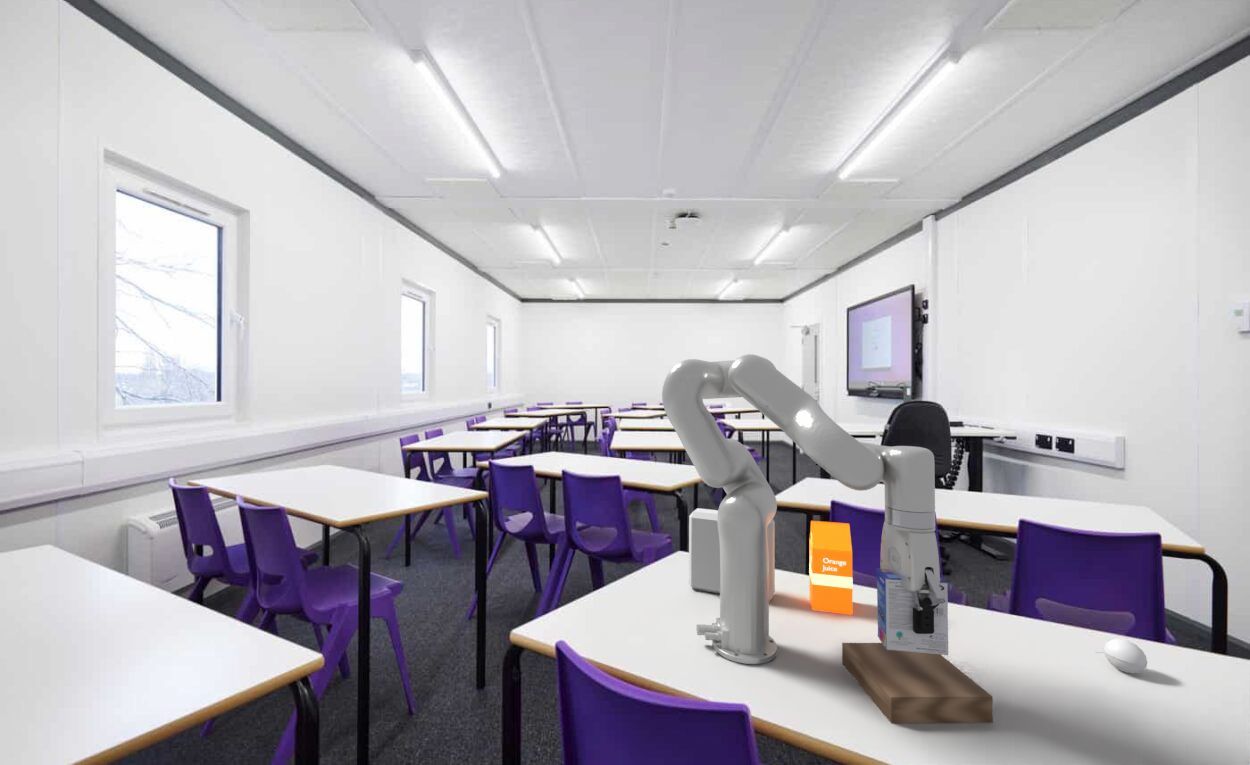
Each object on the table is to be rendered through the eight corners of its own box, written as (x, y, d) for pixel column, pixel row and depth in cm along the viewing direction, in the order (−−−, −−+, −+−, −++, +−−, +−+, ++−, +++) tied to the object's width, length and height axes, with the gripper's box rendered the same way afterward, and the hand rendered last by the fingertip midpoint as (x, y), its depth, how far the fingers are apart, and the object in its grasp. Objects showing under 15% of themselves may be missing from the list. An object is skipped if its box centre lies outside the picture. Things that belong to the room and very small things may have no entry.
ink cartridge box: (935, 639, 84) (935, 557, 84) (950, 657, 79) (950, 569, 79) (875, 634, 86) (875, 553, 86) (886, 651, 80) (886, 565, 81)
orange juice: (852, 615, 110) (852, 528, 111) (812, 609, 113) (812, 524, 113) (847, 600, 118) (847, 519, 118) (809, 596, 120) (809, 516, 121)
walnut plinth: (891, 723, 74) (891, 697, 74) (842, 664, 90) (842, 642, 90) (992, 722, 74) (992, 696, 74) (925, 664, 90) (925, 642, 90)
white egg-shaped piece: (1134, 665, 90) (1133, 635, 91) (1155, 682, 85) (1155, 650, 85) (1083, 658, 93) (1082, 628, 93) (1101, 674, 88) (1101, 643, 88)
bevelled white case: (775, 592, 122) (775, 514, 123) (771, 605, 115) (771, 522, 115) (695, 579, 131) (696, 505, 131) (687, 590, 123) (687, 512, 124)
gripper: (862, 506, 91) (863, 601, 91) (919, 532, 74) (921, 650, 74) (901, 506, 91) (902, 601, 91) (967, 532, 74) (969, 649, 74)
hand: (910, 622), depth 82 cm, fingers closed on ink cartridge box, 6 cm apart
